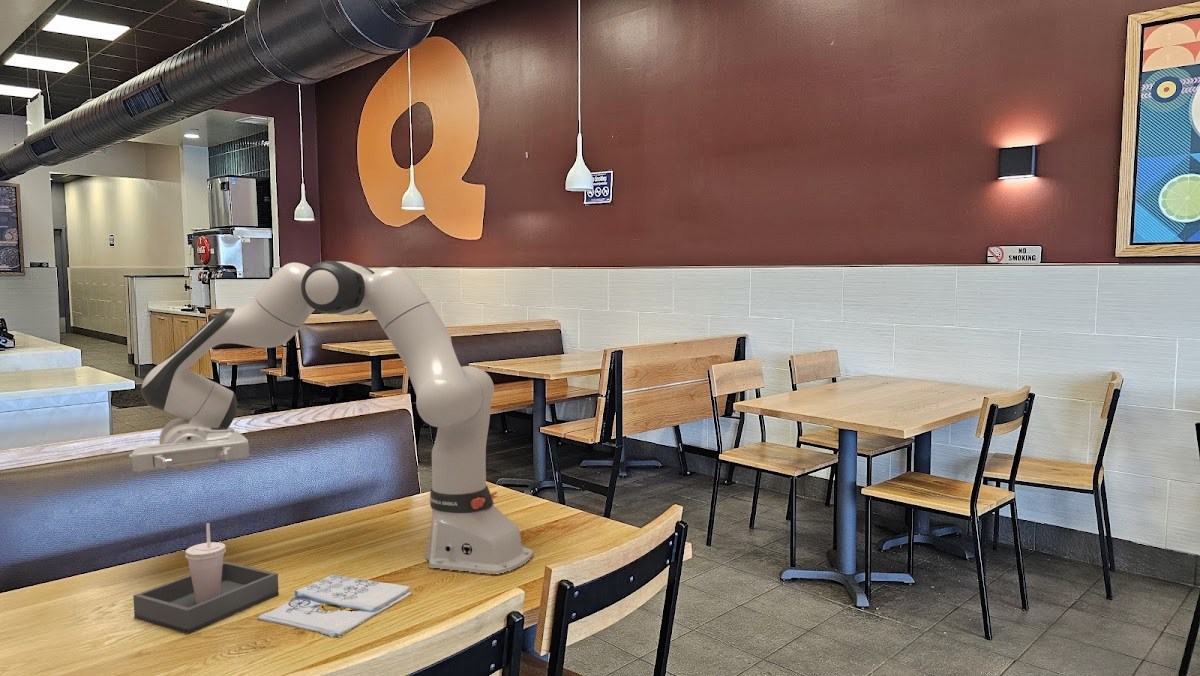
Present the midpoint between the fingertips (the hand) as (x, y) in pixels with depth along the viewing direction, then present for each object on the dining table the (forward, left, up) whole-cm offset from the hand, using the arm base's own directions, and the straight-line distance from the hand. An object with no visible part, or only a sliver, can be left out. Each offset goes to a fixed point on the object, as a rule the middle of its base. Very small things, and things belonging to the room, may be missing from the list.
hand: (195, 461), depth 147 cm
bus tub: (-10, +6, -24) cm, 27 cm away
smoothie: (-10, +6, -23) cm, 26 cm away
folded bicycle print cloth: (-30, -4, -24) cm, 39 cm away
